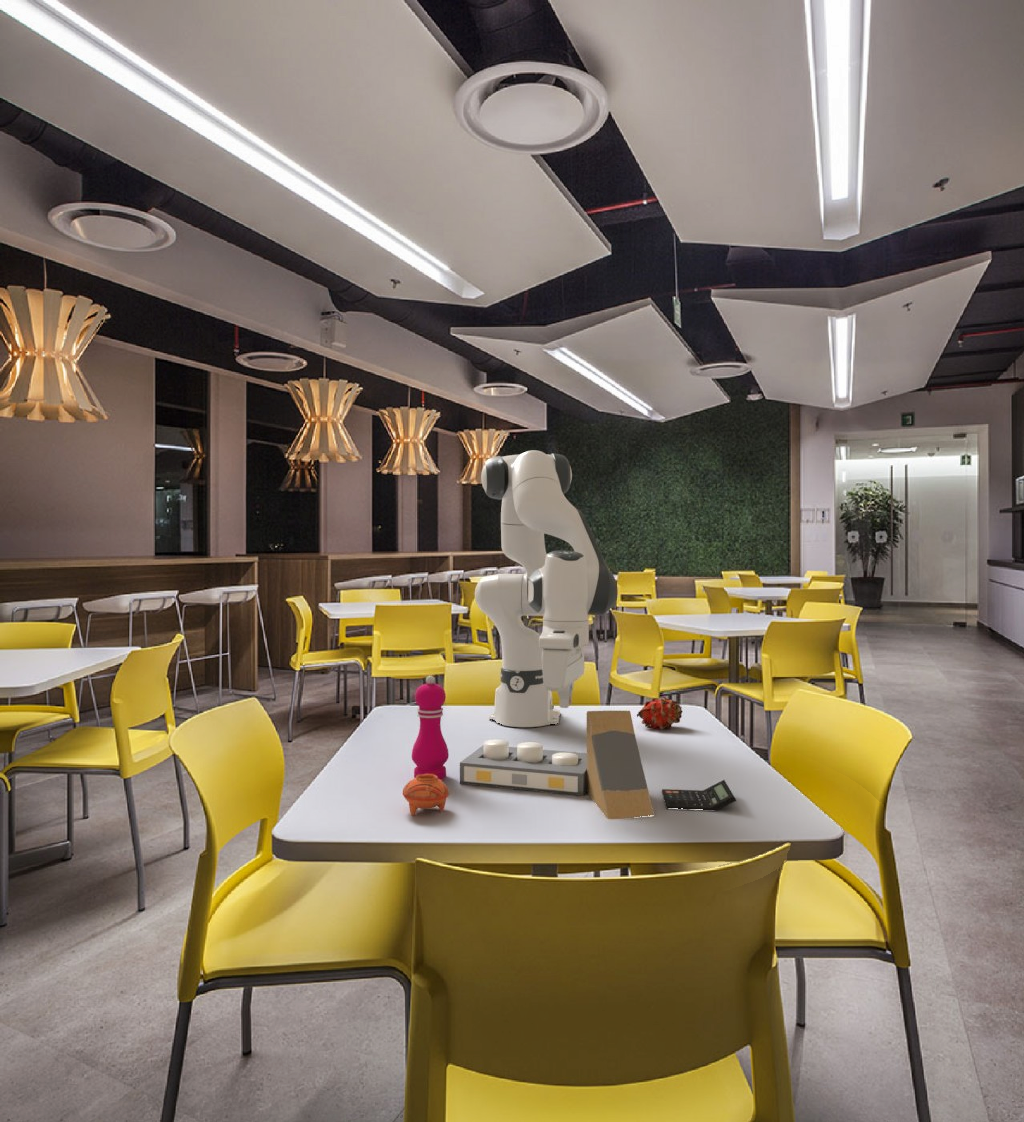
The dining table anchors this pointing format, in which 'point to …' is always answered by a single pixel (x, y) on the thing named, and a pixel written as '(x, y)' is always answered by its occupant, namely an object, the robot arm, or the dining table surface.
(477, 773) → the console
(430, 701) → the pepper mill
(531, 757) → the button middle
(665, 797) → the calculator
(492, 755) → the ball
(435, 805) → the pot
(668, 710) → the dragon fruit
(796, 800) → the dining table surface
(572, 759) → the button container side
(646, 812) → the sandwich container
